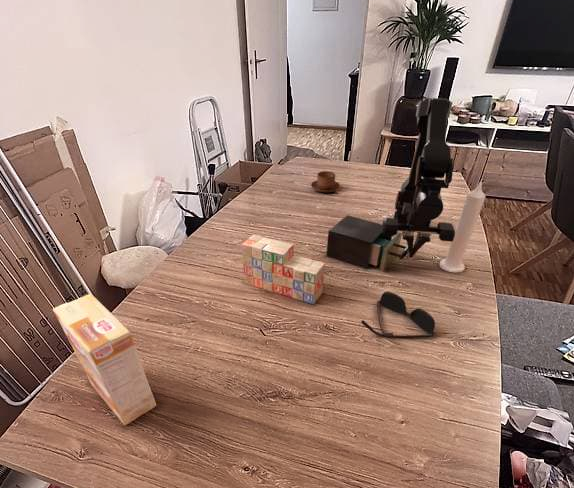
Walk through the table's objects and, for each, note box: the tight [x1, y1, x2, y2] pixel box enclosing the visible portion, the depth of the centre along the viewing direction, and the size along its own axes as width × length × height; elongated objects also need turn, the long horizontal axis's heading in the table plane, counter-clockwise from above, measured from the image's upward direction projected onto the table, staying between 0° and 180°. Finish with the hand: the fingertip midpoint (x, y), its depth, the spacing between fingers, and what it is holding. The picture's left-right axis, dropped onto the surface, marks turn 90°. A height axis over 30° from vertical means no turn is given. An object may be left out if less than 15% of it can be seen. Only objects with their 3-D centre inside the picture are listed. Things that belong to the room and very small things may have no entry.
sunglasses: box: [361, 291, 436, 339], centre depth 89 cm, size 17×14×5 cm
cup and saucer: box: [310, 170, 341, 193], centre depth 155 cm, size 12×12×6 cm
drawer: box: [369, 232, 409, 271], centre depth 112 cm, size 17×11×7 cm
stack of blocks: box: [241, 234, 326, 305], centre depth 99 cm, size 21×6×12 cm, turn 62°
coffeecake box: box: [52, 293, 157, 426], centre depth 69 cm, size 15×7×20 cm, turn 45°
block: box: [373, 238, 390, 260], centre depth 112 cm, size 4×4×4 cm
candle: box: [439, 181, 486, 274], centre depth 104 cm, size 7×7×25 cm
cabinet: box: [325, 214, 383, 270], centre depth 115 cm, size 14×13×9 cm
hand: (410, 256), depth 108 cm, fingers closed
